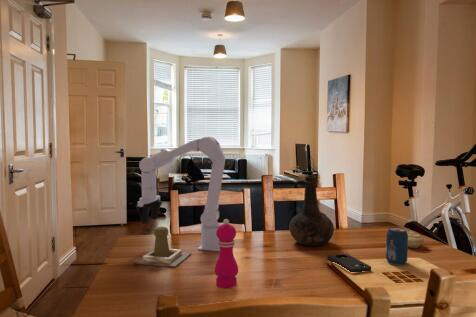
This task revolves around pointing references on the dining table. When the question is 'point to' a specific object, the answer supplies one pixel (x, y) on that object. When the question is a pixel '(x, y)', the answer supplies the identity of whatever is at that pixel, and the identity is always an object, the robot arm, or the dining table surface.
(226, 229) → the pepper mill
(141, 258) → the collar board
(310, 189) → the dark bottle vase
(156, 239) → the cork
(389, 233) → the soda can
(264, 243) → the dining table surface
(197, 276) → the dining table surface
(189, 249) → the dining table surface
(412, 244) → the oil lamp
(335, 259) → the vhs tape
